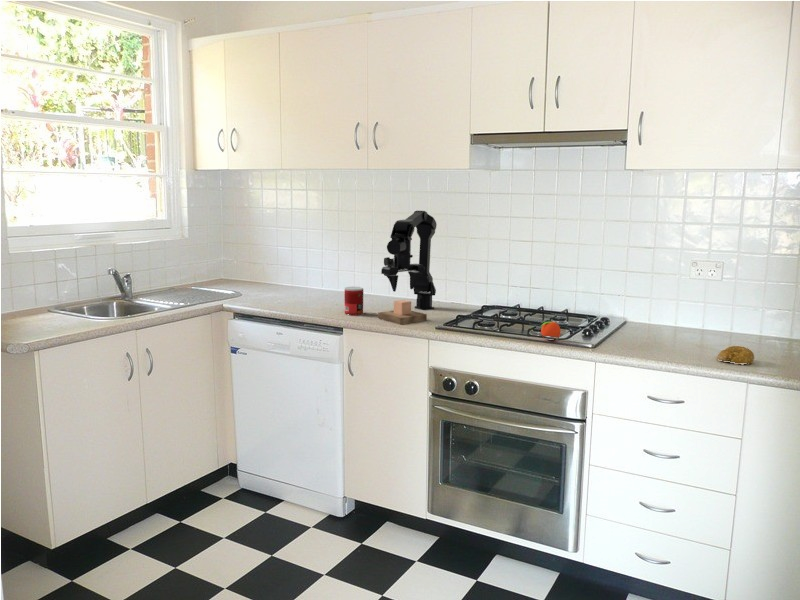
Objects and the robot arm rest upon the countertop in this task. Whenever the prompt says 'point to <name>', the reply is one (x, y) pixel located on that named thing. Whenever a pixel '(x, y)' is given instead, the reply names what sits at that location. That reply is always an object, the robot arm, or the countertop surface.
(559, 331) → the clementine
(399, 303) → the block
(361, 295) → the canned food
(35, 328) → the countertop surface
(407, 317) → the base board
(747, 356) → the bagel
